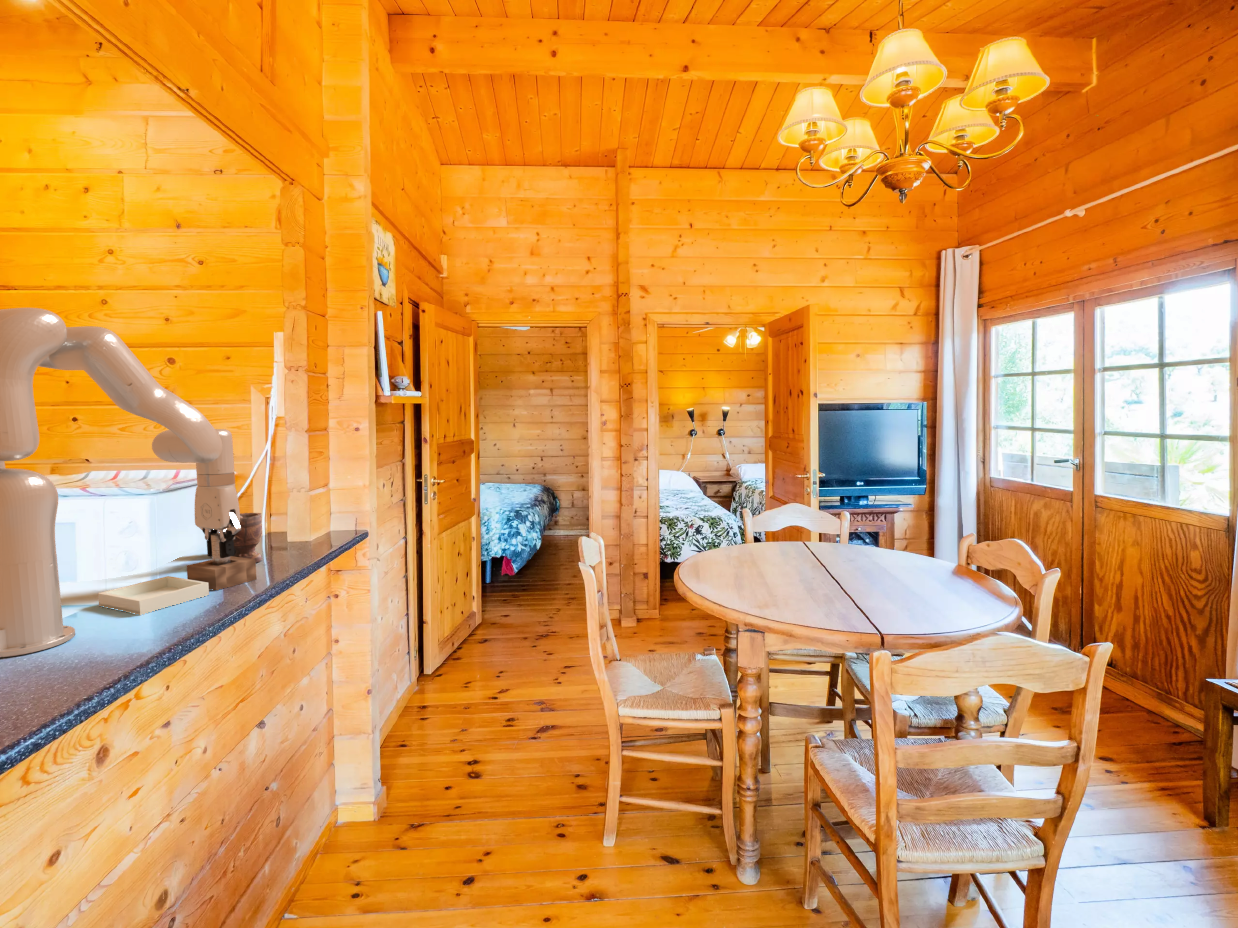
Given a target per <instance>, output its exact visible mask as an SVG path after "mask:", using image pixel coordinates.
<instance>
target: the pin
mask: <svg viewBox="0 0 1238 928" xmlns="http://www.w3.org/2000/svg"><path fill="white" fill-rule="evenodd" d="M225 534H226V532H225ZM219 542H221V538H220V533H215V534H211V545H212V556H211V557H212V559H211V560H212V561H213V565H215V566H220V565H224V564H228V563H231V562H230V557H226V558H220V550H219Z"/></svg>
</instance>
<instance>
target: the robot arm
mask: <svg viewBox="0 0 1238 928" xmlns="http://www.w3.org/2000/svg"><path fill="white" fill-rule="evenodd" d="M38 367H40V368H47V369H54V370H62V371H84V372H85V373H86V374H87V375H88V376H89V378H90V379H91V380H92V381H93V382H95V383H96V385H97V386H98V387H99V388H100V389H101V390H102V391H103V392H104V393H105V394H106V396H108V398H109V399H110V400H111V401H112V402H113V404H115V405H116V406H117V407H118V408H119V409H120V410H123V411H125V412H128V413H130V414H132V415H135V416H137V417H140V418H143V419H146V420H149V421H151V422H154V423H157V424H159V425H160V426H163V427H164V428H166V429H167V430H164V431H161V432H160V433H158V434H157V435H156V436H154V438H153V440H152V443H151V449H152V452H153V453H154V455H155V456H156V457H157V458H158V459H160V460H162V461H165V462H169V463H179V464H180V463H181V464H187V463H189V464H191V463H192V464H195V468H196V470H195V471H196V484H197V485H196V489H195V493H194V523H195V524H194V525H195V526H196V528H197V527H198V528H199V529H200V530H201V531H202V533H203V535H204V539H205V540H206V548H207V549H206V551H207V557H212V545H211V534H215V533H219V532H220V538H221V542H219V550H220V558H226V557H230V556H234V539H235V535H236V534H237V533H238V532H239V531H240V530H241V527H240V513H241V512H240V511H241V510H240V503H239V497H238V493H237V488H236V475H235V460H234V459H235V458H234V447H233V446H234V445H233V434H232V432H231V431H230V430H228V429H226V428H225V429H224V428H215V427H214V426H213V425H212V424H211V422H210V420H208V419H207V417H206V416H205V415H204V414H203V413H202V412H201V411H200V410H199V409H197V408H196V407H194V406H193V405H192V404H190V403H189V402H188V401H186V400H184V399H182V398H181V397H180V396H179V395H177V394H175V393H173V391H170V390H168V389H167V388H165V387H163V386H162V385H161V384H160V383H159V382H158V381H157V380H156V379H155V378H154V377H153V375H152V374H151V373H150V372H149V370H148V369H147V368H146V367H145V366H144V365H143V363H142V362H141V361H140V360H139V359H138V358H137V355H136V354H134V353H133V351H131V349H130V348H129V346H127V344H126V343H125V342H124V341H123V340H122V339H121V337H120V336H119V335H118V334H116V333H115V332H114V331H113V330H111V329H108V328H105V327H102V326H87V325H86V326H85V325H84V326H70V327H69V326H66V322H65V321H64V320H63V319H62V317H60V316H59V315H58V314H57V313H55V312H53V311H51V310H48V309H44V308H40V307H39V308H38V307H15V308H5V309H0V658H7V657H8V658H10V657H15V656H22V655H26V654H31V653H35V652H39V651H43V650H48V649H51V648H53V647H57V646H60V645H62V644H64V643H66V642H68V641H71V640H72V639H73V638H74V637H75V636H76V629H75V628H74V627H73V626H71V625H64V622H63V610H62V598H61V590H60V589H61V587H60V586H61V585H60V576H59V566H58V565H59V564H58V557H57V556H58V555H57V548H56V545H57V543H56V518H57V513H58V506H59V494H58V489H57V487H56V485H55V484H54V482H52V480H51V479H50V478H49V477H47V476H45V475H44V474H42V473H40V472H36V471H34V470H31V469H30V470H29V469H25V468H8V467H7V468H6V463H5V462H13V461H19V460H23V459H26V458H28V457H31V455H33V454H34V453H35V452H36V451H37V450H38V447H39V444H40V430H39V426H38V418H37V412H36V411H37V409H36V405H35V398H34V387H33V384H34V376H35V372H36V371H37V369H38ZM227 526H229V527H227ZM224 527H226V528H224ZM213 529H214V530H213ZM225 530H229V531H227V533H226V534H225Z"/></svg>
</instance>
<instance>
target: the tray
mask: <svg viewBox="0 0 1238 928" xmlns="http://www.w3.org/2000/svg"><path fill="white" fill-rule="evenodd" d="M207 595H209V596H210V590H209V585H208V582H202V581H196V580H189V579H187V578H182V577H176V576H171V575H168V576H167V575H166V576H163V577H159V578H154V579H151V580H146V581H143V582H139V583H135V584H129V585H126V586H122V587H118V588H114V589H109V590H105V591H102V592H101V591H100V592H98V593H97V599H98V607H99V606H104V607H108V608H114V609H118V610H123V611H126V612H131V613H135V614H134V615H136V614H139V615H138V616H143V615H146V614H145V613H147V614H149V613H148V612H150V613H153V612H152V611H154V612H156V611H155V610H157V611H159V610H158V609H161V608H164V609H166V608H165V607H168V606H171V607H173V606H172V605H175V606H177V605H176V604H178V605H181V604H180V603H182V604H184V603H183V602H185V603H187V602H186V601H188V602H190V601H189V600H192V601H194V600H193V599H195V600H197V599H196V598H199V599H201V598H200V597H202V598H205V597H204V596H206V597H208V596H207ZM168 608H169V607H168ZM161 610H162V609H161ZM126 612H125V613H126ZM131 613H130V614H131ZM142 614H143V615H142Z"/></svg>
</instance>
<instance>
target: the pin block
mask: <svg viewBox="0 0 1238 928" xmlns="http://www.w3.org/2000/svg"><path fill="white" fill-rule="evenodd" d="M230 562H231V563H228V564H224V565H220V566H215V565H213V561H212V559H208V560H203V561H199V562H195V563H192V564H187V565H186V576H187V577H186V579H189V580H196V581H202V582H208V585H209V589H213V590H212V591H215V590H217V591H220V590H219V589H221V590H223V588H224V589H227V587H228V588H231V587H234V586H238V585H241V584H244V583H248V582H252V581H255V580H257V565H256V561H255V559H248V558H241V557H233V556H230Z"/></svg>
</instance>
